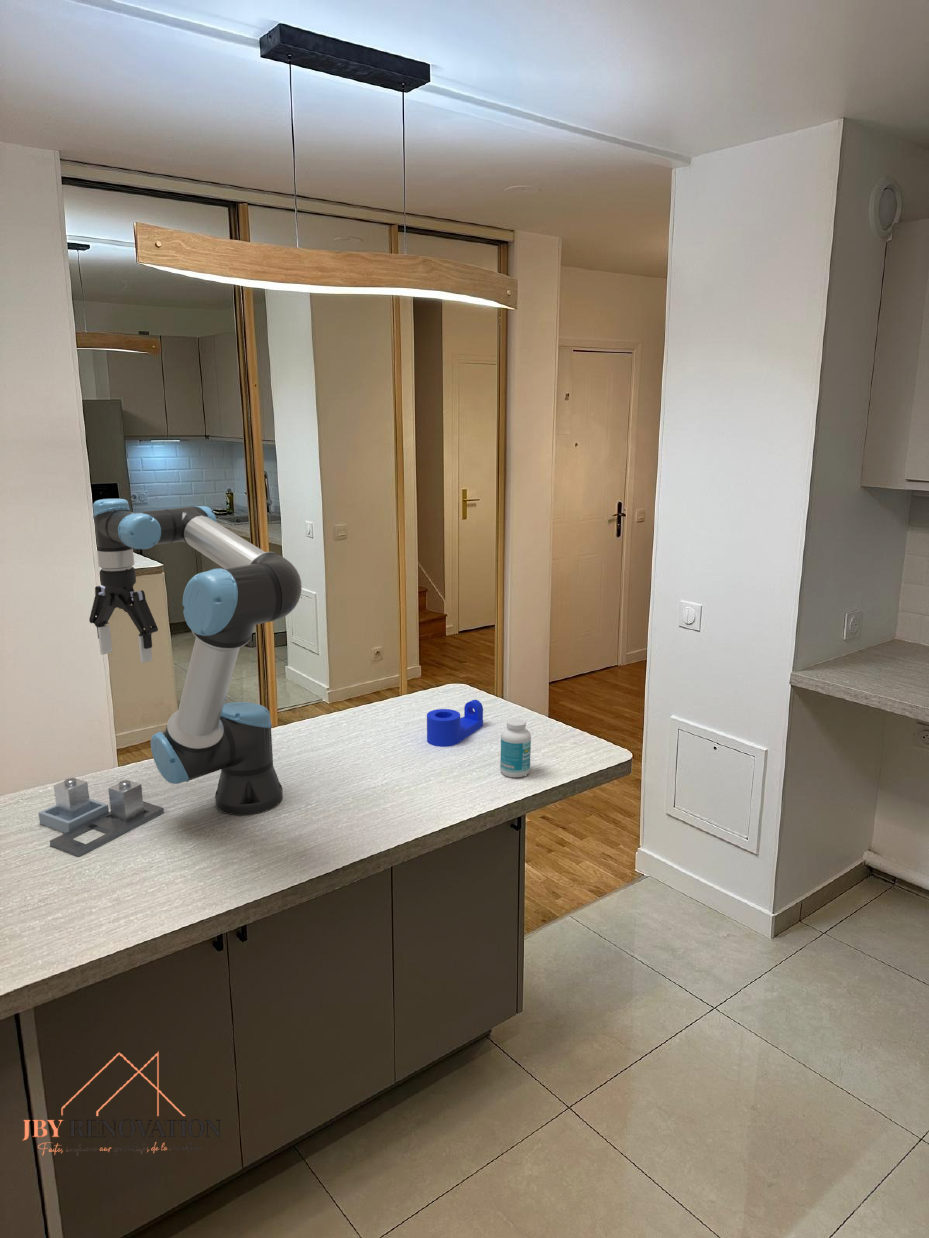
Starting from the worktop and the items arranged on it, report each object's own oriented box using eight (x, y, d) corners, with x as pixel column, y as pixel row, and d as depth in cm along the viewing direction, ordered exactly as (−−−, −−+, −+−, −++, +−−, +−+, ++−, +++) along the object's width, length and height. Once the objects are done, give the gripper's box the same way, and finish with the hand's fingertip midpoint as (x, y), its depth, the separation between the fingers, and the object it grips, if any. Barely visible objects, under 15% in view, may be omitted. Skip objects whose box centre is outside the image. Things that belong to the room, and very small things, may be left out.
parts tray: (109, 815, 190) (108, 804, 190) (69, 834, 182) (68, 823, 181) (79, 805, 195) (78, 794, 194) (39, 823, 187) (38, 812, 186)
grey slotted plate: (136, 803, 196) (135, 798, 196) (163, 812, 192) (163, 807, 192) (50, 845, 177) (49, 840, 177) (78, 856, 173) (78, 851, 173)
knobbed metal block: (91, 815, 189) (87, 778, 187) (72, 824, 185) (67, 786, 183) (77, 810, 192) (72, 774, 189) (57, 819, 188) (53, 782, 185)
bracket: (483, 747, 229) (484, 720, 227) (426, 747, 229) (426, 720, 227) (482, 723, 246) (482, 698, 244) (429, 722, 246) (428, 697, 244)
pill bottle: (528, 780, 209) (529, 728, 205) (498, 777, 210) (498, 726, 207) (531, 767, 216) (533, 717, 212) (502, 765, 217) (503, 715, 214)
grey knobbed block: (144, 817, 190) (140, 780, 188) (126, 826, 186) (122, 789, 184) (129, 812, 192) (125, 776, 190) (111, 821, 188) (107, 784, 186)
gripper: (169, 570, 191) (176, 660, 196) (94, 560, 203) (103, 645, 208) (142, 576, 185) (150, 669, 190) (66, 565, 196) (76, 653, 202)
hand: (126, 657), depth 199 cm, fingers open, 13 cm apart
